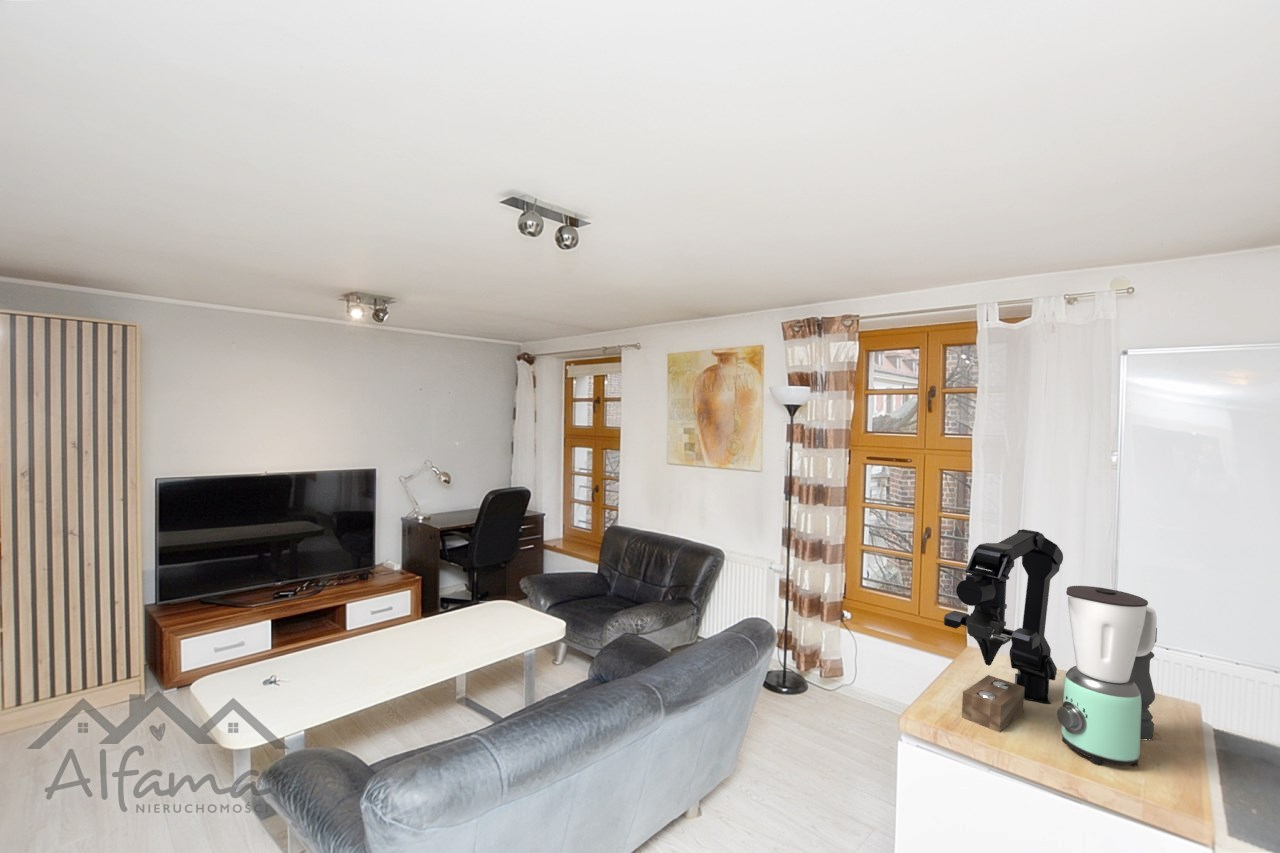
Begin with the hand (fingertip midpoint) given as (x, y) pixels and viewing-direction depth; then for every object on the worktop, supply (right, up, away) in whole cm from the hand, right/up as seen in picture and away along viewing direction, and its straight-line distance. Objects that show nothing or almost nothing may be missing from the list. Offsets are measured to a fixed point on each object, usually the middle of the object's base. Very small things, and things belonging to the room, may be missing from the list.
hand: (988, 664), depth 135 cm
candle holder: (+32, -14, -4) cm, 35 cm away
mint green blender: (+17, -14, -12) cm, 25 cm away
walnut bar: (+3, -13, +2) cm, 13 cm away
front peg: (-1, -13, 0) cm, 13 cm away
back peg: (+6, -13, +5) cm, 15 cm away
